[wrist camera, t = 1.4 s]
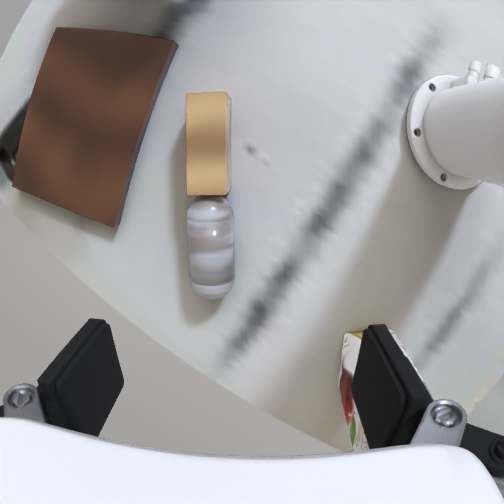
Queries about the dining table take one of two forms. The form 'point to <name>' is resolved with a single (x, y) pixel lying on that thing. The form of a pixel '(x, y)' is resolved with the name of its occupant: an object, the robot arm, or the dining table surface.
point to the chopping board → (90, 118)
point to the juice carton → (345, 382)
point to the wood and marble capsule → (209, 193)
